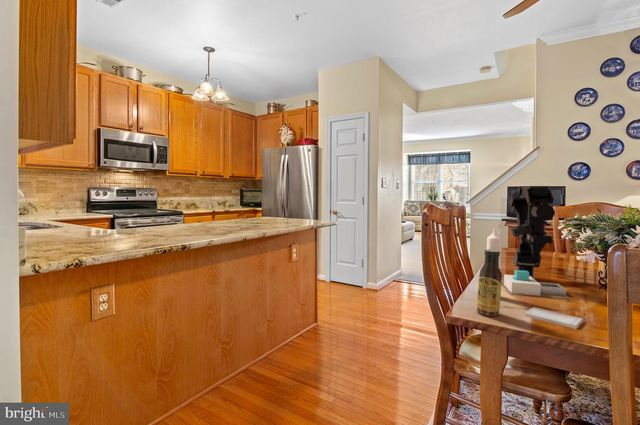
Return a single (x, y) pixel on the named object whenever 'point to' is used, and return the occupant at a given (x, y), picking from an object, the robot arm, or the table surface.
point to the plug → (521, 275)
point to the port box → (522, 285)
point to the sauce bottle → (489, 285)
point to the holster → (552, 289)
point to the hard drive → (554, 317)
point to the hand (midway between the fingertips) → (534, 258)
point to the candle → (495, 244)
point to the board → (542, 295)
